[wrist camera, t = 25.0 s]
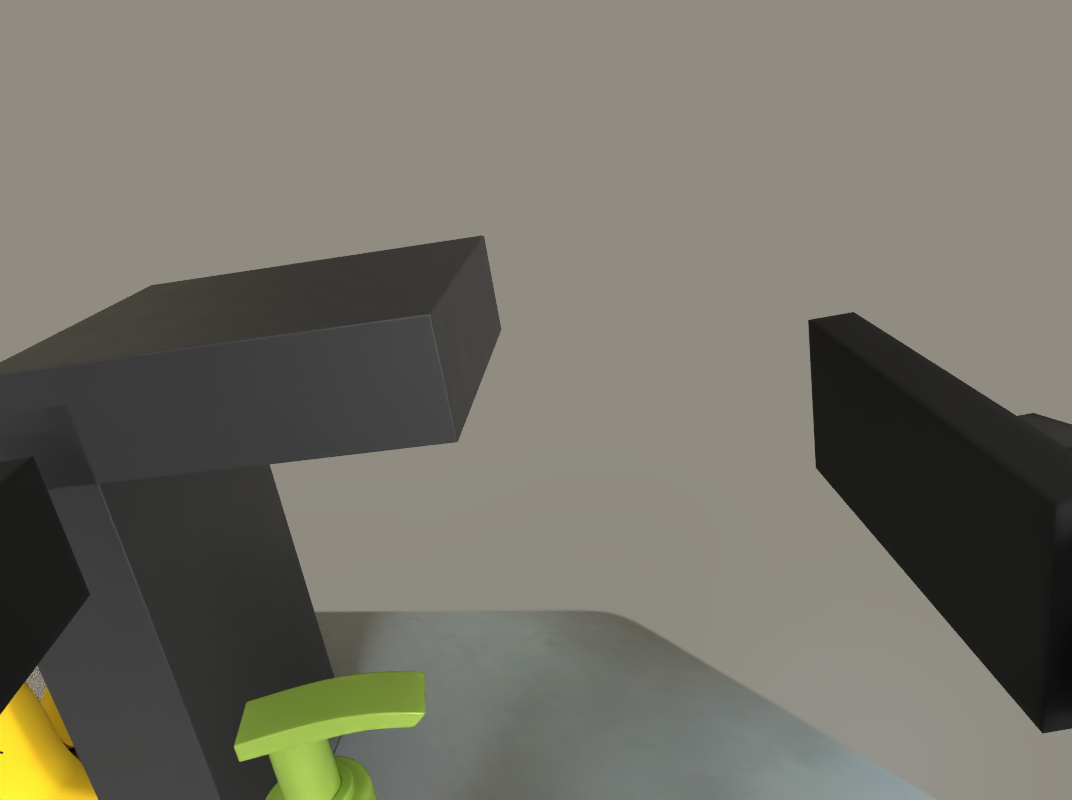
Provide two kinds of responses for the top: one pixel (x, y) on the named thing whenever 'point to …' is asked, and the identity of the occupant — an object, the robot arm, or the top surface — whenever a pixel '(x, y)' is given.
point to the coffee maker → (223, 485)
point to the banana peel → (38, 752)
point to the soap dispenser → (326, 731)
